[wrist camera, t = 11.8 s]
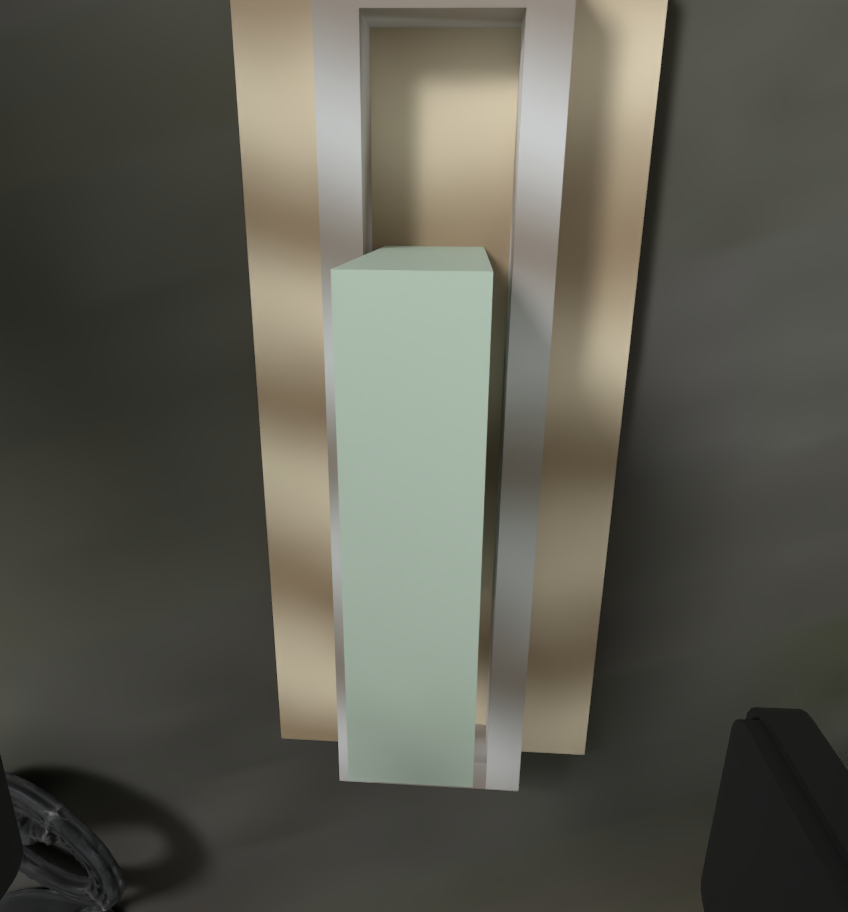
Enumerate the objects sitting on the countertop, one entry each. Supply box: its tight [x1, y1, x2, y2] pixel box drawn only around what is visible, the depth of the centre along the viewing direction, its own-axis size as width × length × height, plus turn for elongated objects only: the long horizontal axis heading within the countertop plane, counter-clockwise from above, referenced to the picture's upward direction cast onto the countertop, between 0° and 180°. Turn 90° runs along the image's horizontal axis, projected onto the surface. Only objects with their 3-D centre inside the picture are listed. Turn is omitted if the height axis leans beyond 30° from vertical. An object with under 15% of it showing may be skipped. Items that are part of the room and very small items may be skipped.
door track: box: [230, 0, 668, 791], centre depth 23 cm, size 26×12×3 cm, turn 179°
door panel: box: [331, 246, 493, 787], centre depth 19 cm, size 12×3×9 cm, turn 0°
